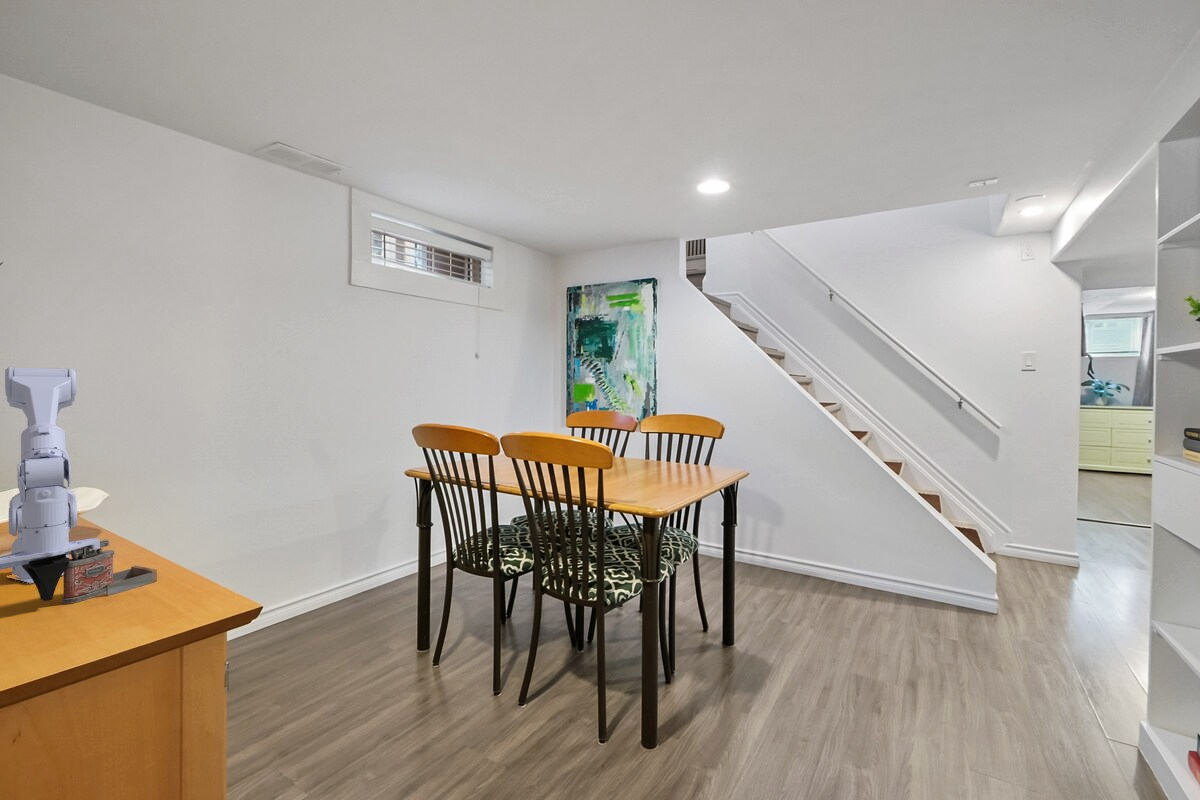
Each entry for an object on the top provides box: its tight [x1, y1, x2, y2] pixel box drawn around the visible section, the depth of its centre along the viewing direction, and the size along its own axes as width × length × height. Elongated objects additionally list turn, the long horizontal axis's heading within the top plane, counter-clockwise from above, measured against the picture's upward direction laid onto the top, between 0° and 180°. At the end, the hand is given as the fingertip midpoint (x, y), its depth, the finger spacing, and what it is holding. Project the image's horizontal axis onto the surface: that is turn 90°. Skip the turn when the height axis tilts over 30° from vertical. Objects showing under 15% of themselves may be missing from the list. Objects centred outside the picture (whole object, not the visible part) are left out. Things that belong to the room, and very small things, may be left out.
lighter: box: [61, 539, 116, 604], centre depth 100 cm, size 8×3×10 cm, turn 169°
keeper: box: [105, 565, 158, 597], centre depth 105 cm, size 7×8×2 cm
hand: (46, 599), depth 94 cm, fingers closed
